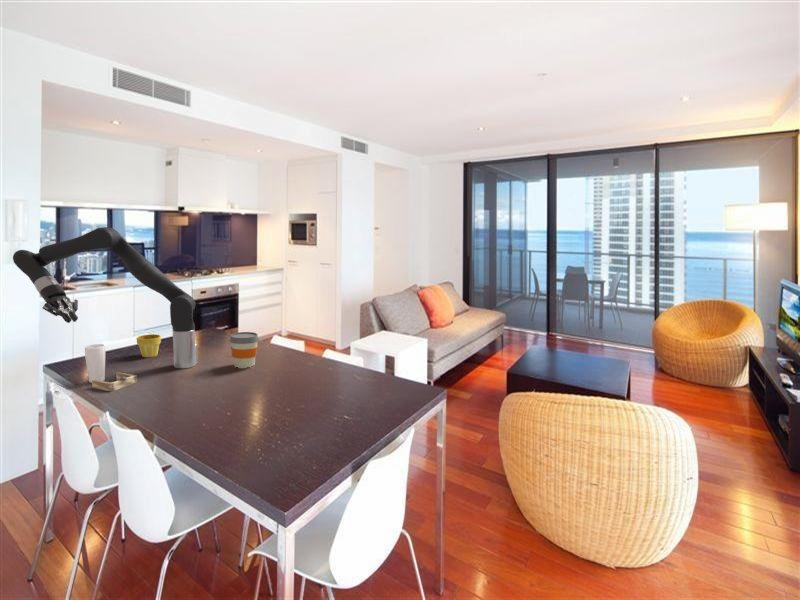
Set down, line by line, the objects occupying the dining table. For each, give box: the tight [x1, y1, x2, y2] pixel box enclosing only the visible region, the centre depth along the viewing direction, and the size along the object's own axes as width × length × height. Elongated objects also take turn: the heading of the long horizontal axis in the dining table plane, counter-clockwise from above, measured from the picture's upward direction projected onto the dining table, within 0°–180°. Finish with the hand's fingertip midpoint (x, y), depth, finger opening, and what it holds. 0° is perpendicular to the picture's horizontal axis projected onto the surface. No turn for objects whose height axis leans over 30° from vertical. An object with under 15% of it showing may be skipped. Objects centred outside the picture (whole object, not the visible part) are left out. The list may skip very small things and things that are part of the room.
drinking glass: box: [84, 343, 106, 384], centre depth 176 cm, size 7×7×15 cm
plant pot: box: [136, 333, 162, 358], centre depth 214 cm, size 10×10×10 cm
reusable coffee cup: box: [229, 331, 259, 369], centre depth 205 cm, size 12×13×15 cm
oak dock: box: [91, 371, 138, 392], centre depth 174 cm, size 11×10×4 cm
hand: (72, 320), depth 179 cm, fingers closed
